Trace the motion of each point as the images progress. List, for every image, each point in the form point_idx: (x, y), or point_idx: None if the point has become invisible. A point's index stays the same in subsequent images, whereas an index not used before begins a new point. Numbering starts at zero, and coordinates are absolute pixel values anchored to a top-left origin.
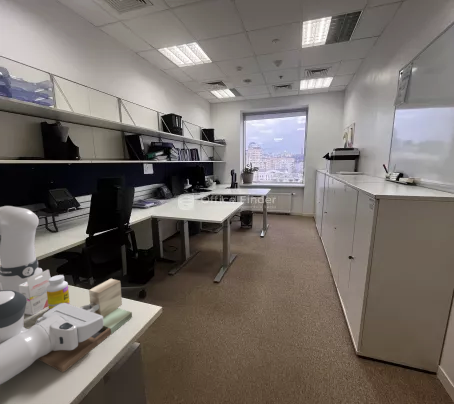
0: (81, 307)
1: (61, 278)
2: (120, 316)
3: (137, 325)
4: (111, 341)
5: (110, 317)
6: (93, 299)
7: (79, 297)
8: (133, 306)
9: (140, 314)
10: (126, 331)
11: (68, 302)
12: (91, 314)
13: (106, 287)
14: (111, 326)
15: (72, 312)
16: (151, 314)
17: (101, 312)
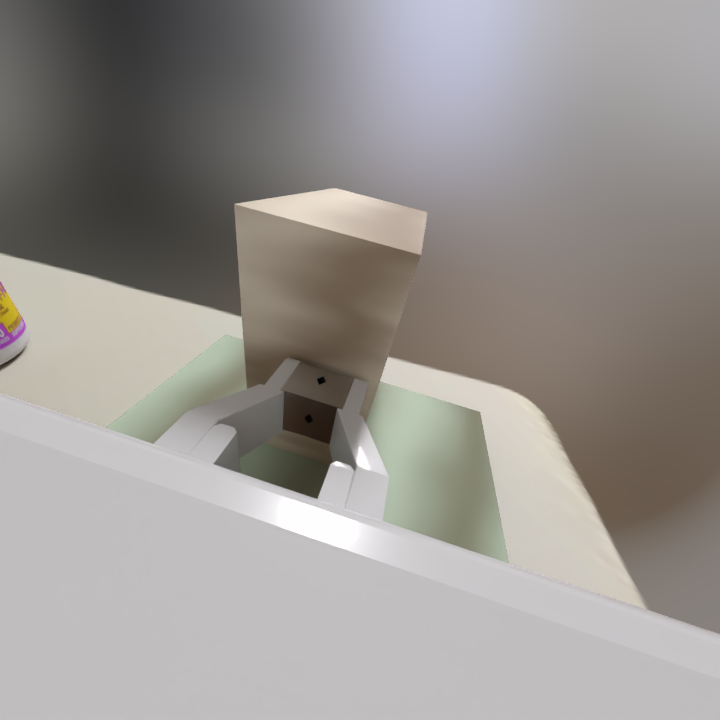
0: (196, 427)
1: None
2: (452, 442)
3: (552, 489)
4: None
5: (400, 452)
6: (295, 328)
7: (88, 301)
8: (409, 369)
9: (485, 414)
10: (551, 548)
11: (10, 323)
12: (606, 675)
13: (403, 225)
14: (493, 548)
15: (38, 668)
16: (529, 414)
17: None
